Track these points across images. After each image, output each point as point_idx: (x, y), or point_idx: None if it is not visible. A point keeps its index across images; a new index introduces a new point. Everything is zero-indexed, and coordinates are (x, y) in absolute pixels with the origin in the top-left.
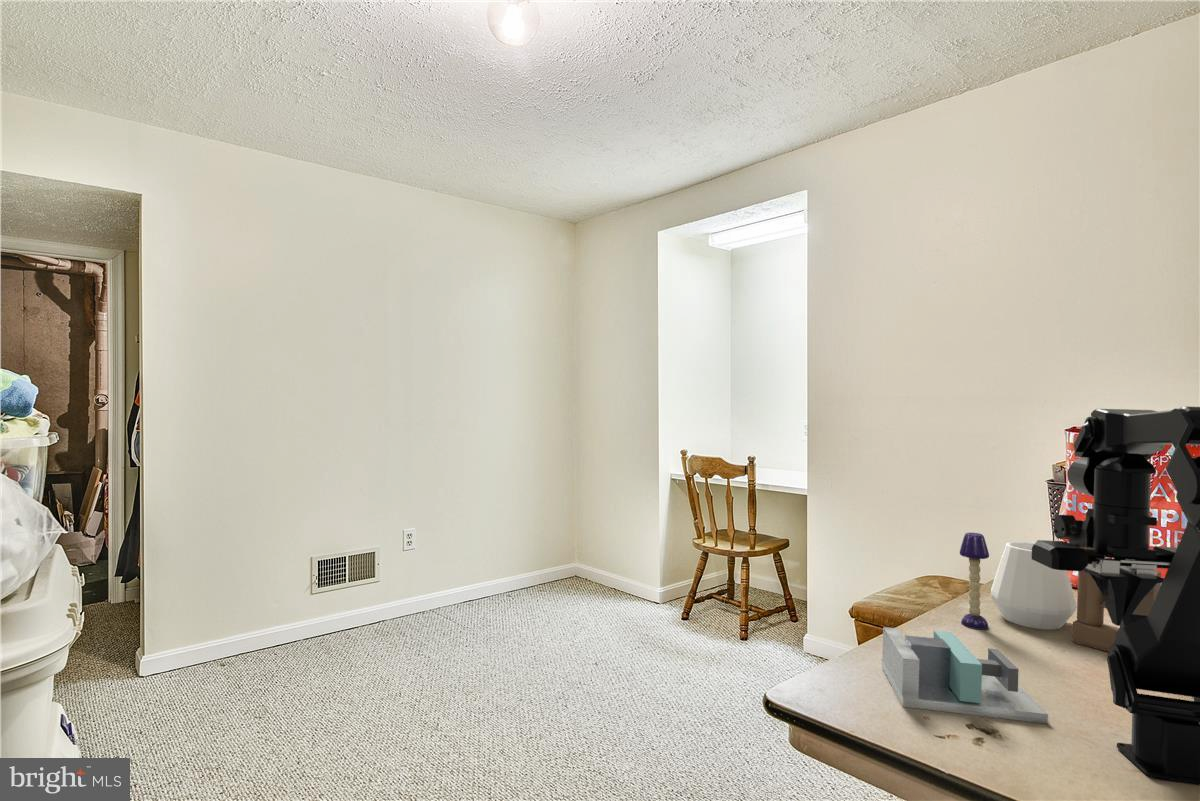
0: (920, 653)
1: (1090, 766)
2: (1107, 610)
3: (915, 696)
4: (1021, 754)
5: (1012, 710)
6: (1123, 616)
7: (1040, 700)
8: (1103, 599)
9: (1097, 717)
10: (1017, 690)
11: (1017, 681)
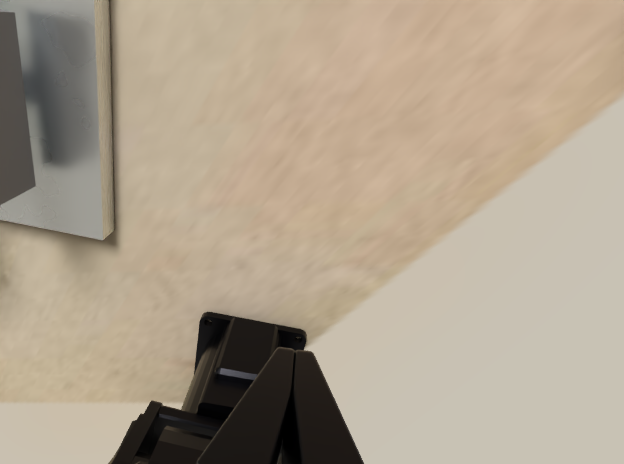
0: None
1: (121, 355)
2: (249, 387)
3: None
4: (16, 328)
5: (24, 223)
6: (282, 445)
7: (157, 107)
8: (207, 448)
9: (255, 196)
10: (31, 188)
11: (11, 198)
